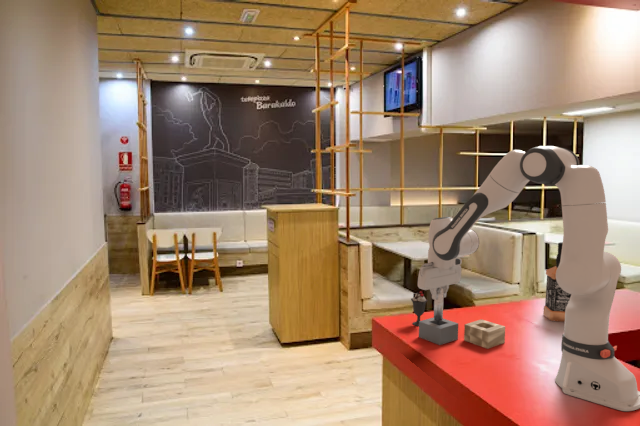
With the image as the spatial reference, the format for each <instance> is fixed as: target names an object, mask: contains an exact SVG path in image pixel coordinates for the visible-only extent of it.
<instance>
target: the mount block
mask: <svg viewBox="0 0 640 426" xmlns="http://www.w3.org/2000/svg"><path fill="white" fill-rule="evenodd" d="M463 331H464V333H463V341H465V342H468V343H471V344H473V345H475V346H479V347H482V348H485V349H487V350H488V349H491V348H493V347H497V346H500V345H502V344H505V341H506V326H505V325H502V324H498V323H495V322H493V321H492V322H491V321H488V320H484V319H478V320H474V321H471V322H468V323H465V324H464V330H463Z"/></svg>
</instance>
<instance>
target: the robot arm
mask: <svg viewBox="0 0 640 426" xmlns="http://www.w3.org/2000/svg"><path fill="white" fill-rule="evenodd" d="M600 174H601V173H600V172H599V170H598V169H597V168H596V167H593V166H591V165H585V164H580V160H579V158H578V155H576V153H575V152H574V151H572V150H570V149H568V148H565V147H559V146H554V145H539V146H535V147H532V148H530V149H528V150H527V151H523V150H521V149H512V150H510V151H509V152H507V153H506V154H505V155H504V156H503V157H502V158H501V159H500V160H499V161H498V162H497V164H496V165H495V166H494V167H493V168H492V170H491V171H490V173H489V174H488V175H487V177H486V178H485V180H484V181H483V182H482V184H481V185H480V186H479V188H477V190H476V191H475V192H474V194H473V195H472V196H471V197H470V198H469V199H468V200H467V201H466V203H465V204H464V205H463V206H462V207H461V208H460V210H459V211H457V213H456V214H455V216H454V217H451V216H442V217H435V218H433V219H431V221H430V223H429V229H428V245H429V247H428V252H427V263H423V264H422V265H421V267H420V268H419V272H418V277H417V287H418V289H420V290H422V289H423V291H427V290H429V292H430V293H431V299H432V300H435V299H438V294H436V290H437V287H444V294H443V298H447V292H448V291H449V289H450V285H454V284H460V281H461V280H462V264H463V262H462V261H463V259H462V258H461V257H465V256H469V255H471V254H474V253H476V252H477V250H478V249H479V246H480V238H479V235H478V234H477V232H476V231H475V230H474V229H472V228H473V227H474V225H475V224H476V223H477V222H478V221H479V220H480V219H482V218H483V217H485V216H486V215H489V214H491V213H493V212H496V211H499V210H503V209H505V208H507V207H508V206H509V205H510V204H511V203H512V202H514V201H515V200H516V198H517V197H518V196H519V195H520V193H521V192H522V191H523V189H524V188H525V187H526V185H527V184H528V183H529V182H532V183H536V184H540V185H546V186H551V187H552V186H556V187H557V188H558V191H559V193H560V200H561V201H560V202H561V212H562V227H563V228H562V229H563V236H562V237H563V238H562V242H563V245H562V252H561V260H560V264H559V266H558V268H557V271H556V280H557V283H558V285H559V286H560V288H561V289H562V290H564V291H565V292H567V293H569V294H571V297H570V300H569V303H568V305H567V306H566V309H565V322H564V327H563V328H564V329H563V334H562V336H561V345H560V346H561V350H560V351H561V359H560V363H559V368H558V370H557V371H558V372H557V373H556V376H555V378H554V381H555V383H556V384H557V385H558V386H559V387H560V389H561V390H562V393H564V394H565V395H568V396H572V397H575V398H578V399H582V400H584V401H588V402H590V403H591V402H592V403H594V404H598V405H601V406H605V407H608V408H611V409H614V410H618V411H621V412H632V411H635V410H639V409H640V391H639V390H638V383H637V380H636V379H637V378H636V376H635V374H634V373H633V372H631V371H630V370H629V369H628V368H627V367H626V366H625V365H624V364H623V363H622V362H621V361H620V360H619V359H617V358H616V357H615V352H616V351H617V348H618V345H614V346H613V345H612V344H611V343H610V341H609V326H610V314H611V310H612V306H613V302H614V298H615V294H616V290H617V285H618V281H619V278H620V275H621V271H622V265H621V263H620V261H619V259H618V258H617V257H616V256H615V255H614V254H612V253H610V252H608V251H605V244H606V243H605V242H606V240H607V235H608V232H609V223H608V213H607V211H608V210H607V203H606V202H607V201H606V195H605V189H604V183H603V181H602V177H601V175H600Z"/></svg>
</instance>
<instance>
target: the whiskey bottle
mask: <svg viewBox="0 0 640 426" xmlns="http://www.w3.org/2000/svg"><path fill="white" fill-rule="evenodd" d="M562 245H563V241H562V242H558V244H557V254H556V258H555V265H554V266H553V267H549V268H547V269H546V271H545V274H546V286H545V287H546V289H545V305H543V311H542V312H543V316H544V317H545V318H547V320H549V321H551V322H562V323H563V322H564V323H565V309H566V306H567V305H568V303H569V300H570V297H571V294H569V293H567V292H565V291H564V290H562V289H561V288H560V286H559V285H558V283H557V280H556V271H557V268H558V266H559V264H560V260H561V252H562Z"/></svg>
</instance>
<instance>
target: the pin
mask: <svg viewBox="0 0 640 426" xmlns="http://www.w3.org/2000/svg"><path fill="white" fill-rule="evenodd" d="M436 294H438V299H435V300H434V299H433V300H434V301H433V317H434V320H437V321H442V320H443V319H444V297H443V294H444V287H437V290H436Z"/></svg>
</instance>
